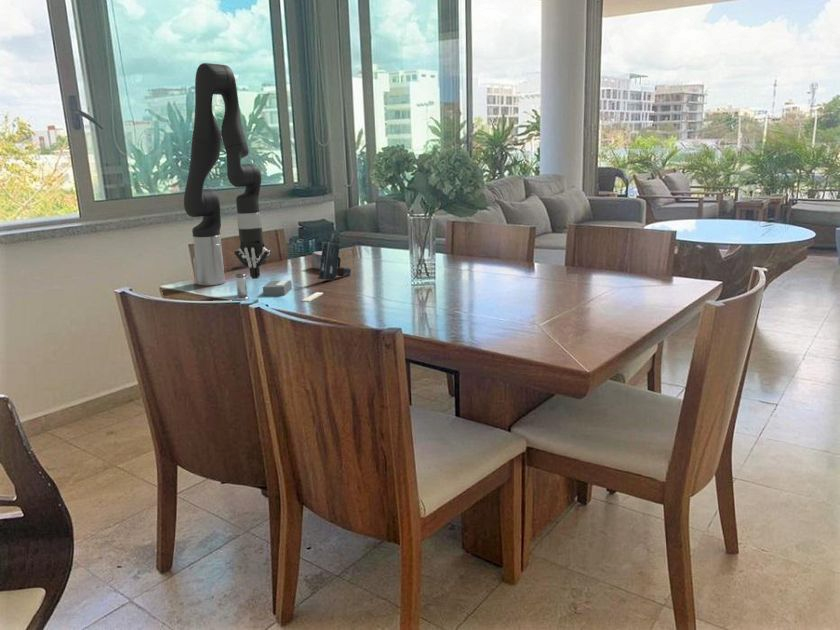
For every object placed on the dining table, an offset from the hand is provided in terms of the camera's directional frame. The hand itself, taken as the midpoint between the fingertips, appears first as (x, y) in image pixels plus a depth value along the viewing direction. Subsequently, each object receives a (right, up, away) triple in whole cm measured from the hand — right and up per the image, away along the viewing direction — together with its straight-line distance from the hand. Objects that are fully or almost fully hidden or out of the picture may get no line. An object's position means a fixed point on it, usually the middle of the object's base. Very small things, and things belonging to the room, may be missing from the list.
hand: (255, 278), depth 217 cm
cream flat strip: (+21, -7, -10) cm, 24 cm away
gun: (+24, +1, +18) cm, 30 cm away
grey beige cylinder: (-2, -7, -9) cm, 12 cm away
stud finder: (+8, -5, -1) cm, 9 cm away
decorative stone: (+19, +5, +37) cm, 42 cm away
